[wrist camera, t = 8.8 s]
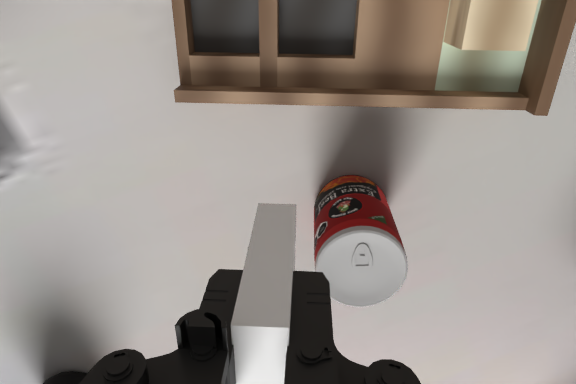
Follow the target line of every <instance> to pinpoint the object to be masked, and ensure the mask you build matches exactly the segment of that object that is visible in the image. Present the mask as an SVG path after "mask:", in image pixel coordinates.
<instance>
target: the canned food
mask: <svg viewBox="0 0 576 384" xmlns="http://www.w3.org/2000/svg"><path fill="white" fill-rule="evenodd" d="M314 255H315V271H316V272H323V274H324V275H325V277H326V278H327V279H328V281H329V284H330V298H331V299H333V300H334V301H336V302H338V303H341V304H343V305H346V306H351V307H369V306H373V305H377V304H380V303H382V302H384V301H386V300H388V299H389V298H391V297H392V296H393V295H394V294H395V293H396V292H398V291H399V289H400V288H401V286H402V285H403V283H404V281H405V279H406V276H407V270H408V266H407V257H406V254H405V250H404V247H403V244H402V241H401V238H400V235H399V233H398V230H397V227H396V225H395V222H394V219H393V216H392V214H391V211H390V208H389V205H388V203H387V200H386V197H385V195H384V193H383V192H382V190H381V189H380V188H379V187H378V186H377V185H376V184H375V183H373V182H372V181H370V180H369V179H366V178H364V177H361V176H357V175H347V176H342V177H339V178H336V179H334V180H332V181H330V182H329V183H328V184H327V185H326V186H325V187H324V188H323V189H322V190H321V192H320V193H319V195H318V197H317V199H316V202H315V206H314Z"/></svg>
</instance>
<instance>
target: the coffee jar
mask: <svg viewBox="0 0 576 384" xmlns="http://www.w3.org/2000/svg"><path fill="white" fill-rule="evenodd" d="M86 375H87V374H85V373H82V372H73V371H70V372H62V373H60V374H58V375H55V376H54V377H51V378H49V379H48V380H46V381H45V382H44V383H43V384H79V383H80V382H81V381H82V380H83V379H84V377H85V376H86Z"/></svg>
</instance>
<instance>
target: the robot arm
mask: <svg viewBox="0 0 576 384" xmlns="http://www.w3.org/2000/svg"><path fill="white" fill-rule="evenodd" d="M295 241H296V205H295V204H263V203H259V204H258V208H257V212H256V217H255V221H254V226H253V230H252V234H251V239H250V243H249V247H248V252H247V256H246V260H245V265H244V269H243V270H226V269H219V270H218V271H217V272H216V273H215V274H214V275H213V276H212V277H211V278H210V279H209V282H208V285H207V287H206V292H205V293H204V296H203V301H202V302H201V305H200V308H199V309H197V310H194V311H191V312H189V313H187V314H185V315H184V316H183V317H181V318H180V319H179V320H178V322H177V323H176V325H175V330H176V336H177V343H178V349H177V350H175V351H174V352H172V353H169V354H166V355H163V356H159V357H154V358H150V359H145V358H144V356H143V355H142V353H140V352H138V351H136V350H131V349H123V350H118V351H114V352H112V353H110V354H108V355H106V356H104V357H103V358H102V359H101V360H100V361H99V362H98V363H96V365H95V366H94V367H93V368H92V369H91V370H90V372H89V373H88V374H87V375H86V376H85V377H84V379H83V380H82V381H81V382H80V383H79V384H421V383H420V381H419V379H418V378H417V376H416V375H415V374H414V372H413V371H412V370H411V369H410V368H409V367H407V366H406V365H404V364H403V363H401V362H398V361H394V360H383V359H382V360H379V361H376V362H373V363H372V364H371V365H370V366H369V367H366V366H363V365H360V364H357V363H355V362H352V361H350V360H348V359H347V358H345V357H344V356H342V354H341V353H340V352H339V351H338V350H337V348H336V346H335V345H334V340H333V328H332V314H331V299H330V284H329V281H328V279H327V278H326V277H325V275H324V274H323V272H307V271H295Z"/></svg>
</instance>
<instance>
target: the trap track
mask: <svg viewBox="0 0 576 384" xmlns="http://www.w3.org/2000/svg"><path fill="white" fill-rule="evenodd" d="M449 6H450V0H172V8H173V18H174V27H175V37H176V46H177V56H178V65H179V75H180V84H181V85H180V86H179V87H178V88H176V89H175V90H174V95H175V102H187V103H232V104H276V105H320V106H364V107H409V108H453V109H497V110H526V111H528V112H530V113H531V114H533V115H541V116H547V115H548V112H549V109H550V105H551V102H552V99H553V95H554V92H555V89H556V85H557V82H558V79H559V75H560V72H561V69H562V65H563V62H564V59H565V55H566V52H567V49H568V45H569V42H570V39H571V35H572V32H573V29H574V26H575V22H576V0H538V4H537V8H536V12H535V16H534V20H533V24H532V28H531V31H530V35H529V39H528V43H527V47H526V51H495V50H461V49H458V48H456V47H454V46H451V45H449V44H447V43H445V42H443V41H444V35H445V29H446V23H447V18H448V12H449Z"/></svg>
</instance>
